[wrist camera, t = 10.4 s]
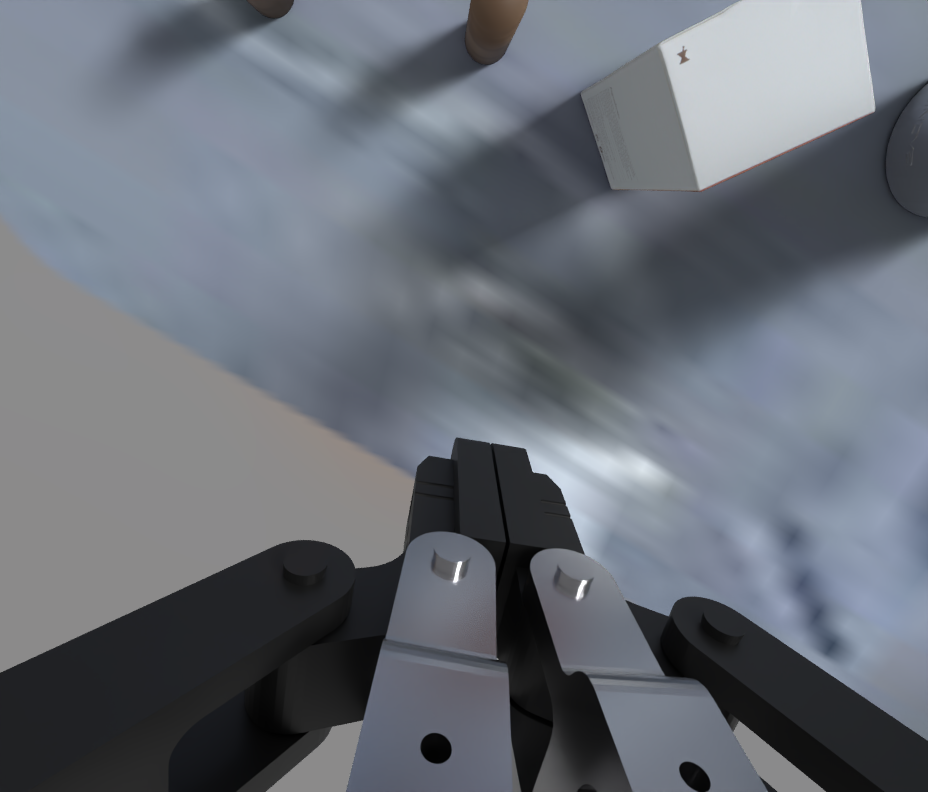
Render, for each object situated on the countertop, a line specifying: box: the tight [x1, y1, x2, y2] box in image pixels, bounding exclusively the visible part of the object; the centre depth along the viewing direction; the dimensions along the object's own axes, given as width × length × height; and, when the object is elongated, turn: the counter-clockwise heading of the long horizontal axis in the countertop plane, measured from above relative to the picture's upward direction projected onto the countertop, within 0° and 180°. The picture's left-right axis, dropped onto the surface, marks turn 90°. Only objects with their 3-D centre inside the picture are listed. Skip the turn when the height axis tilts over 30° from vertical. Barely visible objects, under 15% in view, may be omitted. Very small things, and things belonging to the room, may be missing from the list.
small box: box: [581, 0, 875, 192], centre depth 28 cm, size 8×6×13 cm
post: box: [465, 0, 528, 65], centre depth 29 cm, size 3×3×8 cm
